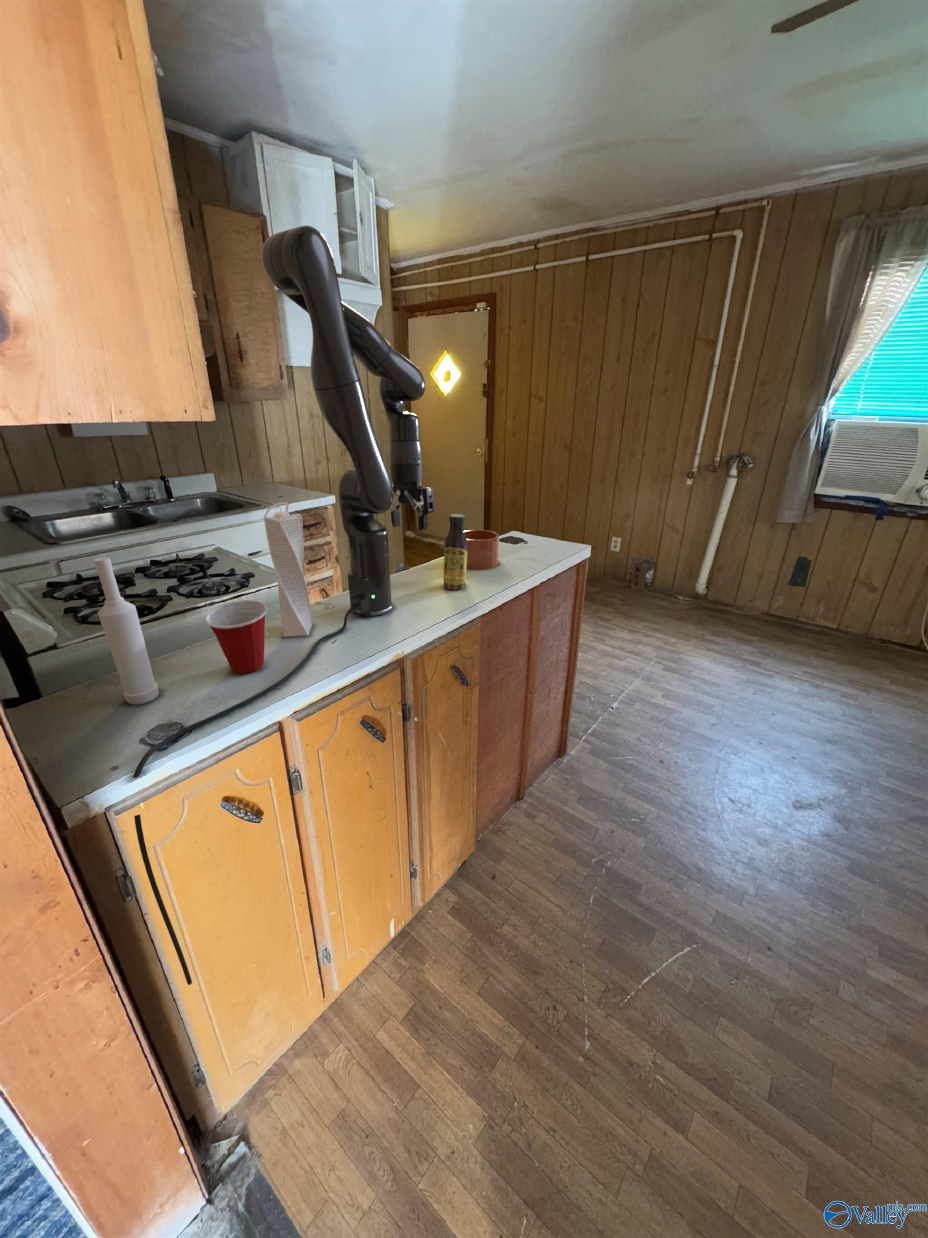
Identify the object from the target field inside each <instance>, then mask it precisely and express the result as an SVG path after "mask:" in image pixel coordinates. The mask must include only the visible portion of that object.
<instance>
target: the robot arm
mask: <svg viewBox="0 0 928 1238" xmlns="http://www.w3.org/2000/svg"><path fill="white" fill-rule="evenodd" d="M261 262H262V266H263V269H264V271H265V274H266V276H267V277H268V279H269V280H270V282H271V283H272V284H273V286H274V287H275V288H276V289H277V290H279V291H280V292H281V293H282V294H283V295H285V296H286V297H287V298H288V299H289V300H291V301H292V302H293V303H295V304H296V305H297V306H298V307H300V308H301V309H302V310H303V311H305V313H307V314H308V315H309V319H310V324H311V330H312V343H311V344H312V345H311V355H310V365H309V366H310V371H309V372H310V381H311V384H312V388H313V392H314V394H315V397H316V400H317V404H318V407H319V409H320V412H321V415H322V416H323V418H324V420H325V422H326V423H327V425H328V426H329V427H330V429H331V430H332V431H333V433H334V434H335V436H336V437H337V438H338V440H339V441H340V443H342V445H343V446H344V447H345V449H346V451H347V452H348V455H349V456H350V459H351V461H352V464H353V467H354V468H350V469H348V470H346V471H345V472H344V473H343V474H342V475H341V477H340V480H339V482H338V502H339V508H340V516H341V521H342V527H343V530H344V532H345V534H346V537H347V544H348V554H349V556H348V557H349V565H350V573H348V574H347V583H348V593H349V605H350V608H349V610H348V611H347V612H346V613H345V615H344V618H343V625H342V627H341V628H339V629H338V630H337V631H334V632H332V633H329V634H326V635H324V636H322V637H321V638H319V639H318V640H317V641H316V642H315V643H314V645H313V646H312V648H311V649H310V651H308V654H307V655H306V656H305V657H304V658H303V659H302V660H301V662H300V663H299V664H298V665H297V666H296V667H295V668H294V669H292V670H291V671H290V672H289V673H288V674H286V675H285V676H284V677H282V678H281V679H280V680H278V681H277V682H275V683H274V684H272V685H270V686H269V687H266V688H265V689H263V690H262V691H259V692H258V693H257V694H254V695H253V696H251V697H248V698H247V699H246V700H243V701H241V702H238V703H237V704H235V705H232V706H230V707H228V708H226V709H224V710H222V711H219V712H218V713H216V714H213V715H211V716H208V717H206V718H204V719H202V720H199V721H197V722H195V723H192V724H190V725H188V726H185V727H184V728H182V729H180V730H178V731H176V732H174V733H173V734H171V735H170V736H168V737H166V738H165V739H163V740H162V741H160V742H159V743H157V744H155V745H154V746H152V747H151V748H150V749H148V751H147V752H146V753H145V754H144V755H143V757H141V759H140V761H139V763H138V764H137V766H136V768H135V770H134V773H133V776H132V777H133V778H134V779H136V778H138V777H140V775H141V774H142V771H143V770H144V768H145V765H146V764H147V762H148V760H149V759H150V758H151V756H153V754H154V753H155V752H157V751H158V750H160V749H161V748H163V747H164V746H166V745H168V744H169V743H171V742H172V741H175V739H177V738H179V737H180V736H182V735H184V734H186V733H187V732H190V731H192V730H194V729H197V728H199V727H201V726H204V725H206V724H208V723H211V722H213V721H215V720H217V719H219V718H221V717H224V716H225V715H228V714H230V713H232V712H234V711H236V710H239V709H240V708H242V707H245V706H246V705H248V704H250V703H252V702H254V701H256V700H258V699H260V698H261V697H263V696H265V695H267V694H268V693H270V692H272V691H273V690H275V689H277V688H278V687H280V686H281V685H282V684H284V683H285V682H286V681H288V680H289V679H290V678H291V677H292V676H294V675H295V674H296V673H297V672H299V670H301V668H303V667H304V665H305V664H306V663H307V662H308V661H309V660H310V659H311V657H312V656H313V655H314V653H315V651H316V649H317V648H318V646H320V644H321V643H323V642H324V641H325V640H327V639H330V638H332V637H335V636H337V635H340V634H342V633H343V631H345V629H346V628H347V625H348V619H349V616H350V615H351V613H352V612H353V613H355V614H357V615H359V616H362V617H365V618H369V617H375V616H382V615H385V614H387V613H390V612H391V611H392V610H393V607H394V606H393V598H392V584H391V583H392V581H391V565H390V563H391V561H390V547H389V531H388V529H387V527H386V526H385V525H383V524H382V523H381V522H380V521H379V520H378V519H377V517H376V515H380V514H384V513H386V512H387V511H389V513H390V518H391V519H390V520H391V525H392V527H393V528H398V527H400V526H401V511H400V509H401V507H402V505H405V504H406V505H408V506H412V507H413V509H415V510H416V512H417V514H418V515H417V517H418V518H417V521H418V522H417V523H418V531H420V532H423V531H426V530H427V528H428V526H429V525H428V524H429V523H428V522H429V521H428V515H429V514H432V513H434V512H435V500H434V489H433V487H432V486H428V487H423V486H422V480H423V479H424V478H423V459H422V457H423V456H422V455H423V453H422V447H421V434H420V433H421V432H420V420H419V416H417V414H415V413H412V412H410V411H408V410H407V408H406V404H405V403H406V402H415V401H418V400H420V399H421V398H422V397H423V396H424V394H425V391H426V382H425V378H424V376H423V373H422V372H421V370H420V369H419V367H417V365H415V363H413V362H412V361H411V360H409V359H408V358H407V357H406V356H404V355H403V354H402V353H400V352H399V351H397V350H396V349H394V347H392V345H391V344H390V342H389V341H388V340H387V339H386V338H385V336H384V335H383V334H382V333H381V332H380V330H379V329H378V328H377V327H376V326H375V325H374V324H373V323H372V322H371V321H369V319H367V318H366V317H364V316H363V315H362V314H361V313H360V312H357V311H356V310H355V309H354V308H352V307H350V306H349V305H347V304H346V303H344V302H343V301H342V295H341V289H340V284H339V278H338V273H337V272H338V271H337V268H336V263H335V259H334V256H333V252H332V250H331V248H330V245H329V244H328V241H327V240H326V238H325V237H324V235H323V234H322V233H321V232H320V231H319V230H318V229H317V228H316V227H313V226H311V225H300V226H297V227H292V228H290V229H286V230H282V231H280V232H277V233H275V234H272V235H270V236H269V237H268V238H266V240H265V241H264V243H263V245H262V248H261ZM355 358H356V359H357V361H358V362H359V363H360V364H361V365H362V366H363V367H364V369H366V371H368V373H370V374H371V375H372V376H373V377H378V378H379V382H378V383H379V385H378V389H379V395H380V400H381V402H382V404H383V408H384V411H385V412H384V413H385V415H386V418H387V421H388V431H389V465H390V466H389V467H390V474H389V472H388V469H387V466H386V463H385V461H384V458H383V455H382V452H381V449H380V447H379V444H378V441H377V437H376V435H375V431H374V427H373V424H372V420H371V417H370V413H369V410H368V405H367V401H366V397H365V393H364V389H363V385H362V381H361V378H360V374H359V371H358V367H357V363H356V361H355ZM390 476H391V477H390ZM392 482H393V483H392ZM133 817H134V819H133V820H134V825H135V826H134V827H135V831H136V837H137V841H138V842H137V843H138V846H139V850H140V855H141V858H142V861H143V866H144V869H145V872H146V875H147V878H148V882H149V884H150V887H151V890H152V893H153V895H154V898H155V901H156V904H157V906H158V908H159V911H160V914H161V916H162V920H163V922H164V925H165V926H166V930H167V931H168V935H169V937H170V940H171V942H172V944H173V947H174V950H175V952H176V955H177V957H178V960H179V963H180V966H181V969H182V972H183V975H184V978H185V980H186V984H187V985H188V986H190V985H192V983H193V980H192V977H191V973H190V971H189V968H188V964H187V962H186V959H185V956H184V953H183V950H182V948H181V946H180V942H179V939H178V938H177V934H176V932H175V929H174V926H173V925H172V922H171V919H170V916H169V914H168V912H167V909H166V906H165V903H164V901H163V898H162V895H161V892H160V889H159V887H158V884H157V881H156V878H155V875H154V871H153V868H152V865H151V862H150V858H149V855H148V854H149V853H148V850H147V846H146V842H145V836H144V831H143V826H142V819H141V818H142V817H141V814H137V815H134V816H133Z"/></svg>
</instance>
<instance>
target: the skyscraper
mask: <svg viewBox="0 0 928 1238" xmlns="http://www.w3.org/2000/svg"><path fill="white" fill-rule="evenodd" d="M283 505H285V511H277V512H274V515H272V516H271V515H270V516H268V514H269V512H270V511H271V510H272V509H274V508H275V507H278V506H283ZM289 505H290V503H289V502H287V501H280V502H276V503H274V504H272V505H271V506H269V507H268V508H267V509H266V511H265V513H264V516H263V520H264V521H263V523H264V528H265V533H266V539H267V544H268V549H269V555H270V558H271V562H272V565H273V568H274V571H275V574H276V577H277V589H278V601H279V609H280V611H279V612H280V617H281V624H282V625H281V626H282V633H283V638H286V637H309V634H310V632H311V629H312V628H313V626H314V623H313V616H312V608H311V600H310V595H309V591H308V585H307V582H306V578H305V574H304V571H303V569H304V558H305V557H304V556H305V555H304V553H305V547H304V546H305V543H304V529H303V517H302V514H301V513H293V514H290V512H289V511H288V510H289Z"/></svg>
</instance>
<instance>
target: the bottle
mask: <svg viewBox="0 0 928 1238" xmlns="http://www.w3.org/2000/svg"><path fill="white" fill-rule="evenodd" d="M93 562H94V564H95V569H96V572H97V575H98V577H99V581H100V584H101V587H102V591H103V594H104V597H105V600H104V605H103V606H102V607H101V608H100V609H99V611H98V612H97V616H98V618H99V621H100V624H101V627H102V630H103V633H104V636H105V638H106V641H107V644H108V648H109V650H110V653H111V656H112V659H113V661H114V664H115V668H116V670H117V674H118V676H119V678H120V679H119V680H120V683H121V685H122V688H123V691H122V693H123V697H124V699H125V701H126V702H127V703H128V704H130V705H136V706H137V705H142V704H147V703H149V702H150V701H153V700H155V699H156V698H158V696H159V694H160V689H159V685H158V682H156V681H155V677H154V673H153V669H152V666H151V662H150V657H149V653H148V650H147V646H146V642H145V639H144V635H143V631H142V625H141V622H140V619H139V614H138V610H137V608H136V605H135V604H134V603H132V602H129V601H126V600H125V598H124V597H122V596H121V593H120V590H119V587H118V583H117V580H116V577H115V573H114V568H113V564H112V561H111V558H110V557H109V556H102V557H96V558H94V559H93Z"/></svg>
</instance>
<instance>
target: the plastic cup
mask: <svg viewBox="0 0 928 1238" xmlns="http://www.w3.org/2000/svg"><path fill="white" fill-rule="evenodd" d="M267 610H268V606H267V604H266V603H264V602H263V601H260V600H256V599H240V600H232V601H230V602H226V603H223V604H220V605H218V606H216V607H214V608H212V609H211V610H209V612H207V613H206V614H205V615H204V618H203V620H204V622H205V623H206V624H207V626H208V627H210V629H211V630H212V632H213V634H214V636H215V637H216V639H217V641H218V644H219V646H220V648H221V651H222V652H223V655H224V657H225V658H226V660H227V663H228V665H229V667H230V669H231V671H232V673H234V674H237V675H249V674H252V673H256V672H258V671H259V670H261V669H262V668H263V667H264V663H265V624H266V615H267V612H268V611H267Z"/></svg>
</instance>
